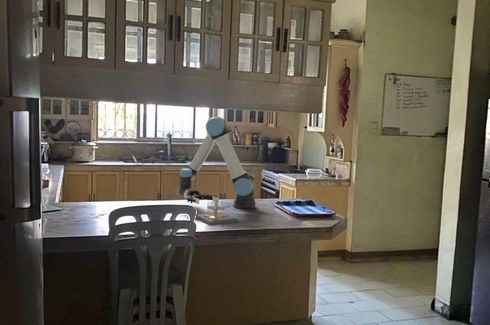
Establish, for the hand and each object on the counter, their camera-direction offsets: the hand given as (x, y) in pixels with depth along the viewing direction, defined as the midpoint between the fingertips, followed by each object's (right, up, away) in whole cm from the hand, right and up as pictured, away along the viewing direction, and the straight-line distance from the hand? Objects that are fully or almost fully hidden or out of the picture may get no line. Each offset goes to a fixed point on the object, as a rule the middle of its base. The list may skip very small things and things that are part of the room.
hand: (208, 201), depth 276 cm
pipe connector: (+5, -9, -7) cm, 12 cm away
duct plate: (+5, -10, -6) cm, 13 cm away
